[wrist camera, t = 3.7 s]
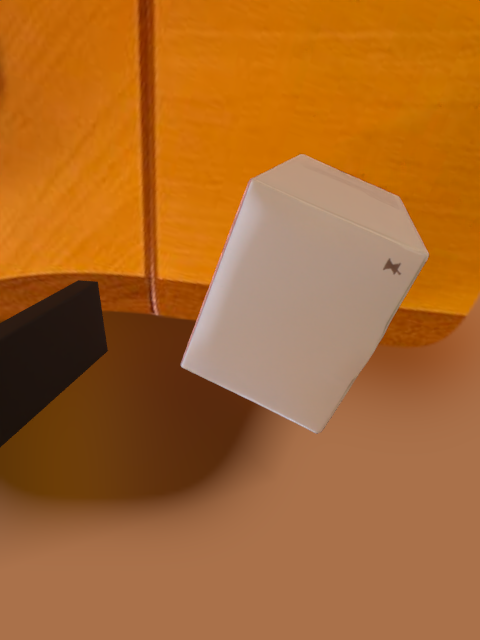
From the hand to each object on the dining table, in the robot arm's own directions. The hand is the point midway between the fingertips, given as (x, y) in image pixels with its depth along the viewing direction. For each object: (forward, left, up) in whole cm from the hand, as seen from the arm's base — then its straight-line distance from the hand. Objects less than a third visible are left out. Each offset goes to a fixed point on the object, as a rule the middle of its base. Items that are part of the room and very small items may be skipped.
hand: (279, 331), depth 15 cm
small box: (0, 0, -14) cm, 14 cm away
